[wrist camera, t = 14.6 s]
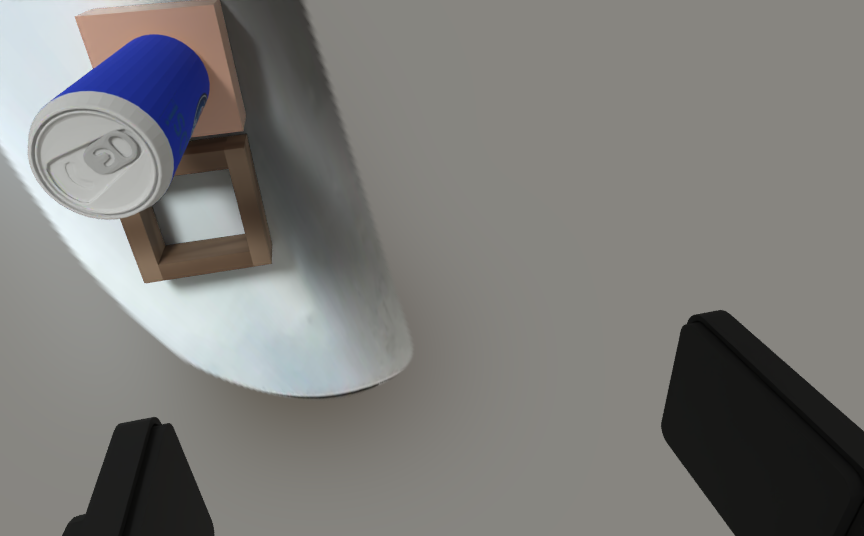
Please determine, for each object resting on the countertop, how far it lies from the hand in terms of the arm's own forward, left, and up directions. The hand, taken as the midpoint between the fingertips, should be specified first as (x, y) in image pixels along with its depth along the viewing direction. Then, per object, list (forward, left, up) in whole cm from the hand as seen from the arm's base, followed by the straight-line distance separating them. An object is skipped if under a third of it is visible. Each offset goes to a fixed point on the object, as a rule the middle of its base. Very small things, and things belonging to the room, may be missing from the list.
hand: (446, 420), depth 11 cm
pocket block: (+9, -11, -34) cm, 37 cm away
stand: (0, -10, -34) cm, 36 cm away
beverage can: (0, -10, -31) cm, 33 cm away
